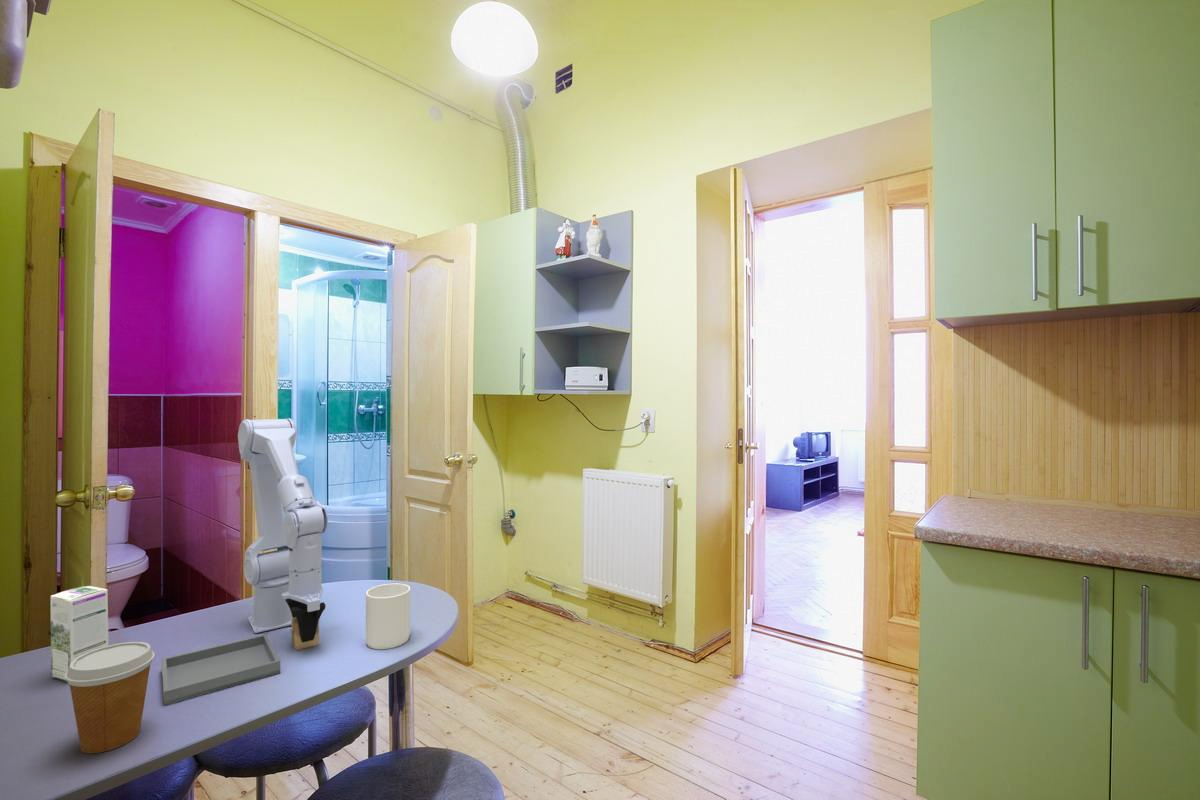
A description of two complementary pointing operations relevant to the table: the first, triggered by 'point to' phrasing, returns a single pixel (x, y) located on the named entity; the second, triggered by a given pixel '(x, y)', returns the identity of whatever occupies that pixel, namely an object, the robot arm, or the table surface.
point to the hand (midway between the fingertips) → (305, 636)
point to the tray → (217, 668)
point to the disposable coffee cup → (109, 694)
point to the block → (297, 640)
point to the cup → (387, 615)
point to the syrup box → (77, 625)
